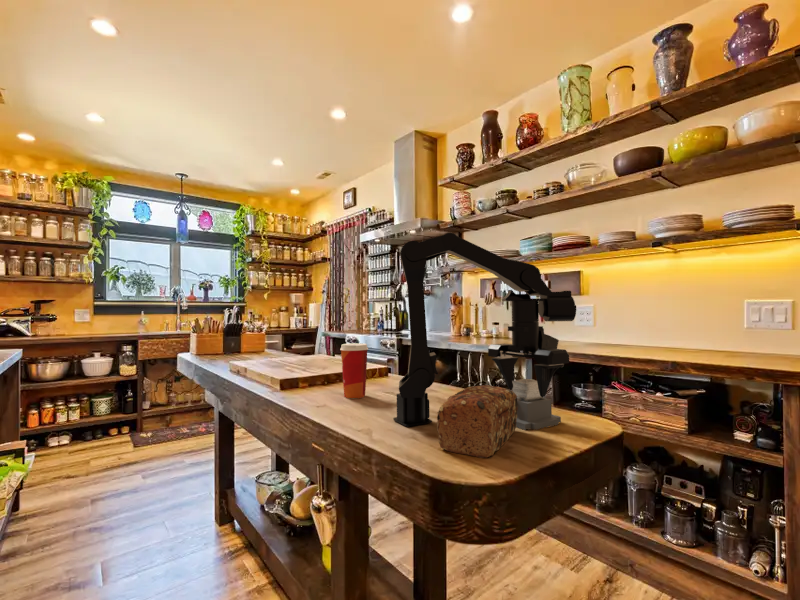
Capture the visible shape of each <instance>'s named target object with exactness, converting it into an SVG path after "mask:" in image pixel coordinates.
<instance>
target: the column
mask: <svg viewBox="0 0 800 600" xmlns="http://www.w3.org/2000/svg"><path fill="white" fill-rule="evenodd" d="M512 384H513V388H512V389H511V391H513V392H514V393H515V394H516V396H517V397H519V398H521V401H524V402H532V401H538V400H540V399H541V396H540V393H539V389H538V384H537V379H536V380H535V379H530V378H523V379H514V380H513V381H512Z"/></svg>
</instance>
